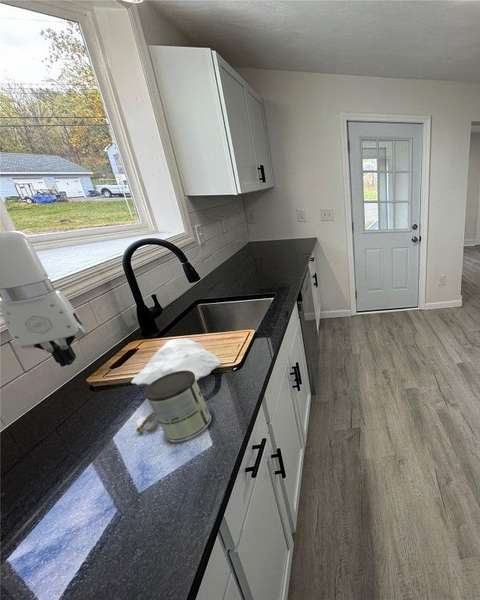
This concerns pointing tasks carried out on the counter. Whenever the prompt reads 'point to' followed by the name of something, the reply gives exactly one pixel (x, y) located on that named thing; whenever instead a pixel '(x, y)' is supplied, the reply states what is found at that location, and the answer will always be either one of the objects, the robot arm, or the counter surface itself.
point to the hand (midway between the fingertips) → (68, 362)
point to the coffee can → (178, 405)
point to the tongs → (146, 422)
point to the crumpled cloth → (178, 361)
